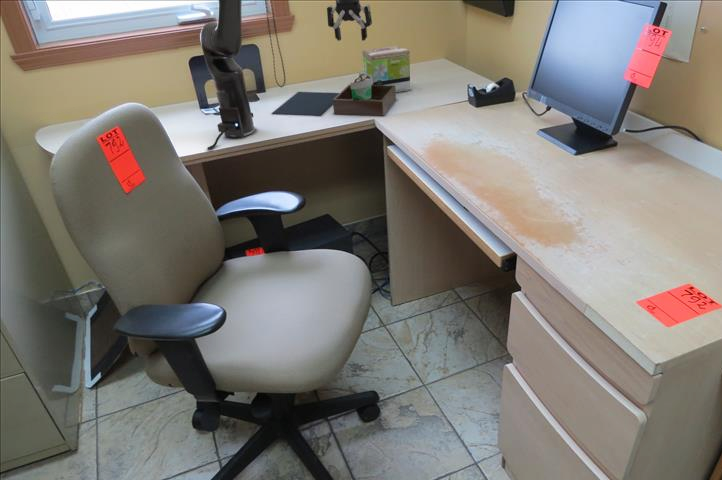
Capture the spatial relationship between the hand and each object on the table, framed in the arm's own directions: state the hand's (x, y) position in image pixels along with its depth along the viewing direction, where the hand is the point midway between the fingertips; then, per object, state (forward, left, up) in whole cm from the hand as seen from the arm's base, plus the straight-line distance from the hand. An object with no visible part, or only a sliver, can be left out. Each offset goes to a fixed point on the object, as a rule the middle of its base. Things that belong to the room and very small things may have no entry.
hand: (351, 40), depth 183 cm
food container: (+1, -3, -23) cm, 23 cm away
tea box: (+20, -6, -23) cm, 30 cm away
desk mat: (+2, +19, -22) cm, 30 cm away
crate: (+1, -3, -22) cm, 23 cm away
